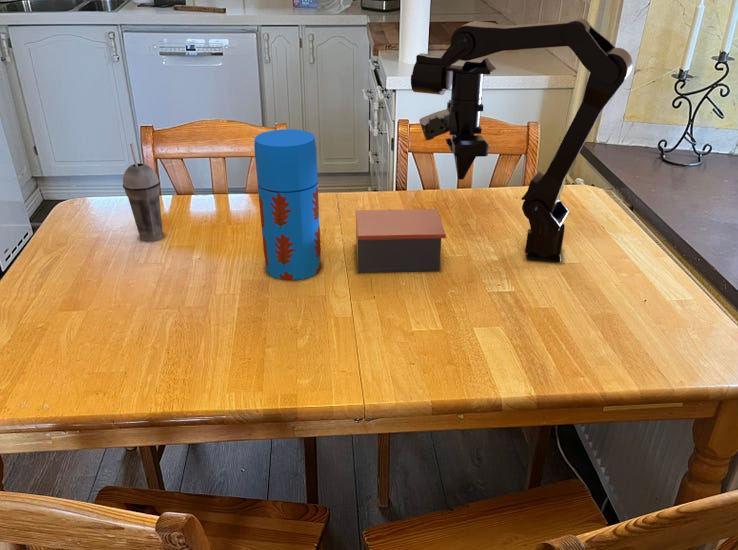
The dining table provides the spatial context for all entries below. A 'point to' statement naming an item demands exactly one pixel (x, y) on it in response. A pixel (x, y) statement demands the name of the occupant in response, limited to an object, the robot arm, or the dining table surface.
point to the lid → (399, 224)
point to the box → (398, 255)
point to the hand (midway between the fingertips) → (460, 178)
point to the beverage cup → (144, 199)
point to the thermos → (289, 202)
